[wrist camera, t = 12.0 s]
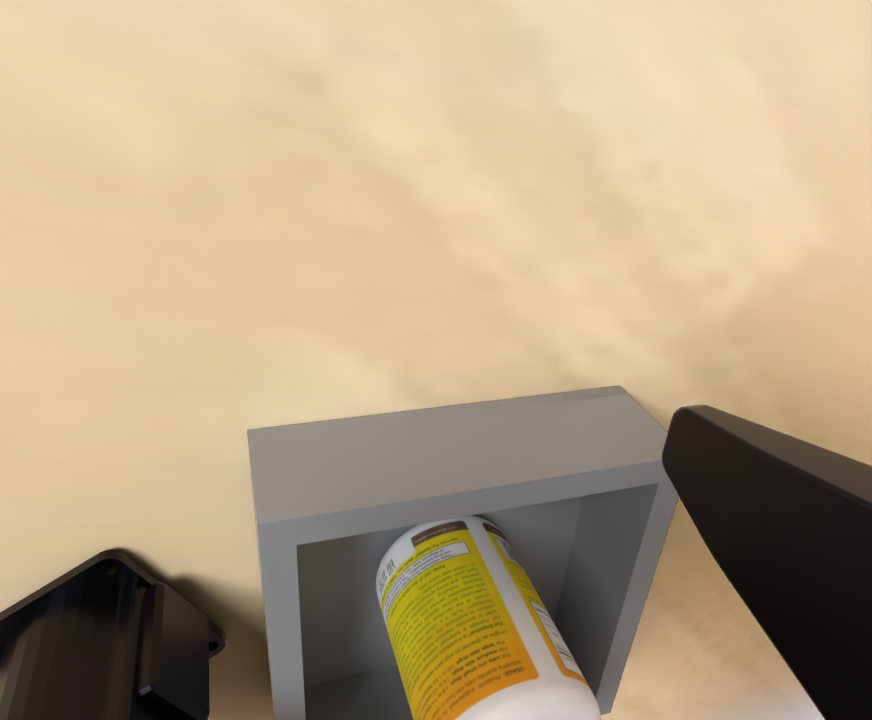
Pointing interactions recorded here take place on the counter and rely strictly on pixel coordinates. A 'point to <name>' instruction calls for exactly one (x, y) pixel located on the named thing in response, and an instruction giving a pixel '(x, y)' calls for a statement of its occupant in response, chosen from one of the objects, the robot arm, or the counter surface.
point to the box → (445, 499)
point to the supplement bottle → (474, 629)
